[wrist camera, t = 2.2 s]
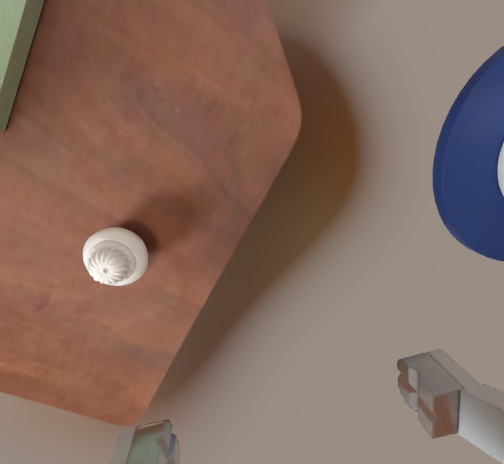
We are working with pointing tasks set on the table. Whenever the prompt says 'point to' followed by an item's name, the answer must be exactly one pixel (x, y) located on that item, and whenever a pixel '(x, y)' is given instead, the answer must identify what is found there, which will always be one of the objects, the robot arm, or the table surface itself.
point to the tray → (15, 48)
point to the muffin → (115, 256)
